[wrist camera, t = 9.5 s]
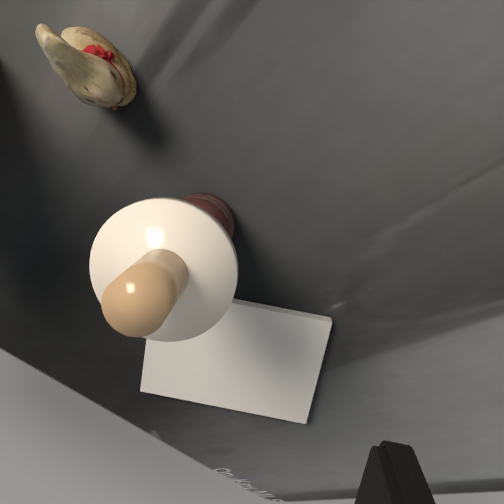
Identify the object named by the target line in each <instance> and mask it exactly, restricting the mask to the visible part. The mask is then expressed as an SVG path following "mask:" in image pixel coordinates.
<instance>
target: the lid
mask: <svg viewBox="0 0 504 504" xmlns="http://www.w3.org/2000/svg"><path fill="white" fill-rule="evenodd" d="M89 270H90V278H91V282H92V286H93V289H94V291H95V294H96V296H97V298H98V300H99V302H100V304H101V306H102V311H103V314H104V317H105V319H106V320H107V322H108V323H109V324H110V325H111V326H112V327H113V328H114V329H115V330H116V331H118V332H120V333H121V334H124V335H126V336H130V337H143V338H146V339H150V340H154V341H161V342H176V341H183V340H188V339H191V338H194V337H197V336H199V335H201V334H203V333H205V332H206V331H208V330H209V329H211V328H212V327H213V326H214V325H216V324H217V323H218V322H219V321H220V320H221V318H222V317H223V316H224V315H225V313H226V312H227V310H228V308H229V306H230V304H231V302H232V300H233V297H234V293H235V290H236V286H237V282H238V273H239V272H238V259H237V254H236V251H235V247H234V245H233V243H232V240H231V238H230V237H229V235H228V233H227V232H226V230H225V229H224V227H223V226H222V225H221V224H220V223H219V221H217V220H216V219H215V218H214V217H213V216H212V215H211V214H210V213H208V212H207V211H206V210H204V209H202V208H201V207H199V206H197V205H195V204H193V203H190V202H188V201H185V200H181V199H177V198H169V197H157V198H150V199H146V200H142V201H139V202H136V203H134V204H132V205H129V206H127V207H125V208H123V209H121V210H120V211H118V212H117V213H115V214H114V215H113V216H112V217H110V218H109V219H108V220H107V221H106V223H105V224H104V225H103V226H102V227H101V229H100V231H99V232H98V234H97V236H96V238H95V240H94V242H93V246H92V249H91V254H90V265H89Z"/></svg>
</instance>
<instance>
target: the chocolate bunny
mask: <svg viewBox="0 0 504 504" xmlns="http://www.w3.org/2000/svg"><path fill="white" fill-rule="evenodd" d="M35 34H36V37H37V40H38V42H39V44H40V46H41V48H42V49H43V51H44V53H45V55H46V56H47V58H48V59H49V61H50V63H51V65H52V67H53V69H54V70H55V72H56V73H57V75H58V76H59V77H60V78H61V80H62V81H63V82H64V83H65V84H66V86H67V87H68V88H69V90H71V91H72V93H74V94H75V96H76V97H77V98H79V99H80V100H81V101H82V102H83V103H85V104H88V105H91V106H96V107H108V108H109V107H111V109H112V110H118V106H125V105H128V103H129V102H131V101H132V100H133V98H134V97H135V95H136V87H137V83H136V80H135V78H134V76H133V74H132V71H131V67H130V65H129V63H128V62H127V60H126V59H125V58H124V56H123V55H122V54H121V53H120V52H119V51H118V50H117V49H116V48H115V47H114V46H113V45H112V44H111V43H110V42H109V41H108V40H107V39H106V38H104V37H103V36H102V35H100V34H99V33H97V32H95V31H93V30H90V29H88V28H84V27H70V28H66V29H65V30H63V32H62V34H61V36H60V35H59V34H57V33H56V32H55V31H53V30H52V29H51V28H49V27H48V26H46V25H45V24H42V23H41V24H39V25H38V26H37V28H36V31H35Z"/></svg>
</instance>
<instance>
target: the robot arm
mask: <svg viewBox="0 0 504 504" xmlns="http://www.w3.org/2000/svg"><path fill="white" fill-rule="evenodd" d="M355 504H435V501H434V499H433V496H432V494H431V492H430V489H429V487H428V484H427V482H426V479H425V477H424V474H423V472H422V470H421V467H420V465H419V462H418V460H417V457H416V455H415V452H414V450H413V449H412V447H411V446H409V445H404V444H399V443H395V442H390V441H382V442H381V444H380V446H379V447H378V446H373V447H372V448H371V450H370V453H369V457H368V460H367V463H366V467H365V470H364V474H363V477H362V480H361V484H360V487H359V490H358V494H357V497H356V501H355Z"/></svg>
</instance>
